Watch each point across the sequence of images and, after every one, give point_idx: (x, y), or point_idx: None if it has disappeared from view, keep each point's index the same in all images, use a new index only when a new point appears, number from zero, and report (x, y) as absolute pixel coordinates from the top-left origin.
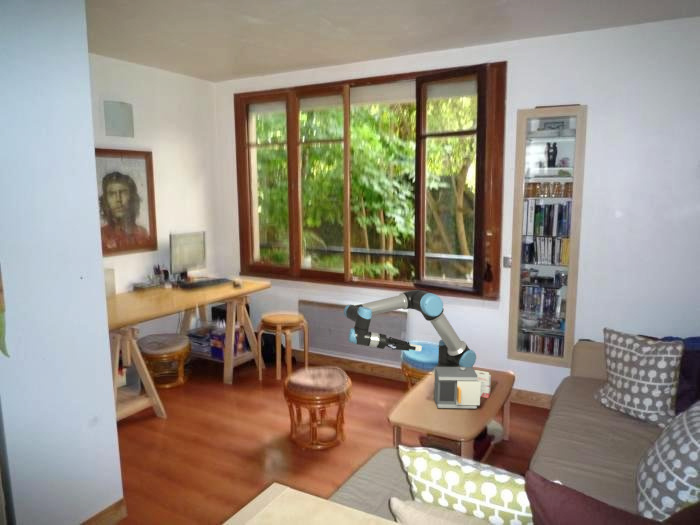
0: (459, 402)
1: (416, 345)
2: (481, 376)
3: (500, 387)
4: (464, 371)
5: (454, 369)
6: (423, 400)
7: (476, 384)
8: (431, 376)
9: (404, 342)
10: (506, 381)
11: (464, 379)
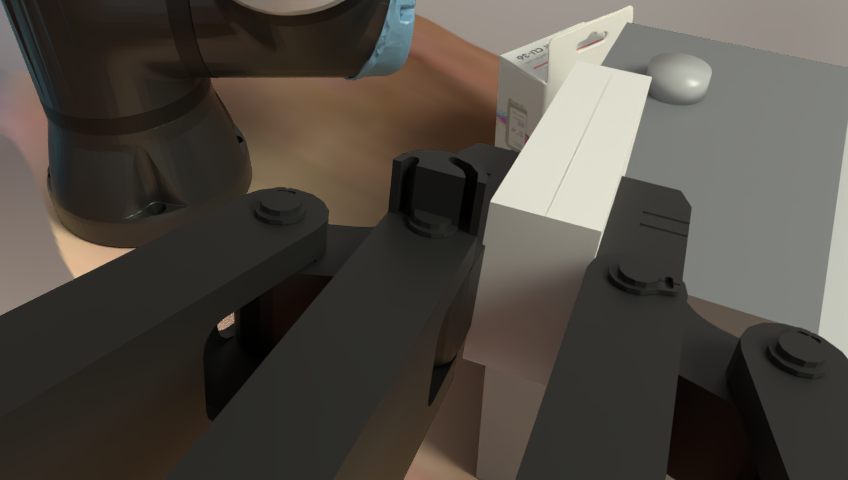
0: None
1: (612, 126)
2: (590, 61)
3: (479, 69)
4: (727, 96)
5: (651, 132)
6: None
7: None
8: (75, 265)
9: (363, 304)
10: (420, 23)
11: None
